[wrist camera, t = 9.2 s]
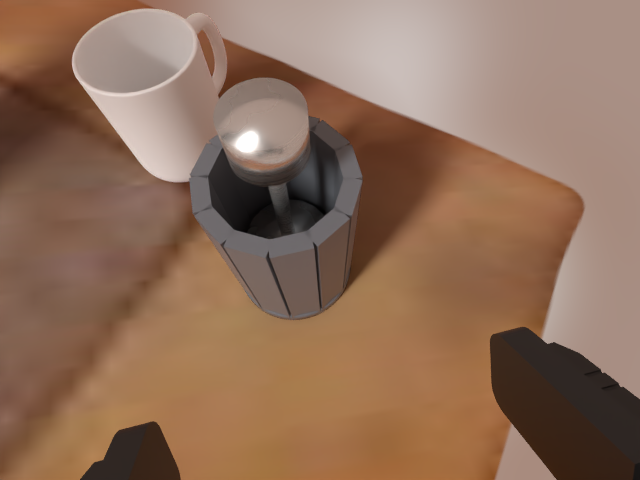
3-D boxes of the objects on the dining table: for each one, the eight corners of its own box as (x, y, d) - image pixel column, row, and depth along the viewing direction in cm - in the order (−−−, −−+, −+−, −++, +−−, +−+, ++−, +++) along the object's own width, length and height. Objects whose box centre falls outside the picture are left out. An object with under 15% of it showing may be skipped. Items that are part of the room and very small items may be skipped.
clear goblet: (256, 288, 24) (196, 185, 13) (243, 214, 26) (183, 75, 15) (339, 269, 24) (347, 153, 14) (320, 198, 27) (313, 51, 16)
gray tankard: (250, 331, 27) (197, 276, 16) (229, 202, 32) (178, 92, 21) (362, 304, 28) (384, 234, 17) (327, 182, 32) (326, 64, 22)
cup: (121, 163, 34) (43, 68, 25) (200, 75, 38) (159, -33, 29) (197, 200, 32) (143, 113, 23) (271, 103, 36) (251, -2, 27)
